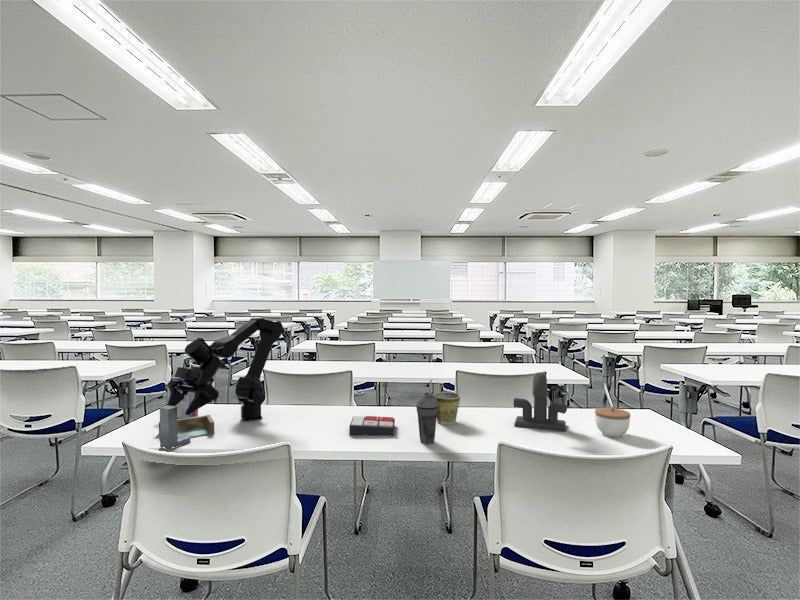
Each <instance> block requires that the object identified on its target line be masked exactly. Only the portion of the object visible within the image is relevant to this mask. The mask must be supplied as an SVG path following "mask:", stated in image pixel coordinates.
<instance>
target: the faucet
mask: <svg viewBox="0 0 800 600" xmlns="http://www.w3.org/2000/svg"><path fill="white" fill-rule="evenodd" d="M547 377H548V376H547V375H546V374H545V373H544V372H536V373H535V374H534V375H533V377H532V396H533V406H532V403H531V402H530V401H529V400H528V399H525V398H519V397H514V398H513V408H521V409H522V416H521V415H518V416H516V417H515V420H514V423H513V424H514V427H516V428H524V429H533V430H542V431H543V430H544V431H552V432H554V431H555V432H563V433H566V430H567V426H566V423H567V422H566V421H565V420H563V419H559V417H558V416H559V415H558V413H560V414H566V413H567V410H568V405H567V404H565V403H561V402H557V401H555V402H554V401H553V402H551V403H550V404H549V405H548V378H547ZM547 407H548V408H547Z"/></svg>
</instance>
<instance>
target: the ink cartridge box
mask: <svg viewBox="0 0 800 600" xmlns="http://www.w3.org/2000/svg"><path fill="white" fill-rule="evenodd" d="M180 380H181V381H182V382H183V383H184V384H185V385H187V383H185V382H184V381H183V380H184V379H182V378H180ZM170 394H171V393H170V390H169V388H168V387H167V396H166V397H167V401H166V403H167V404H168V401H169V398H170ZM194 398H195V393H194V392H188V394H186V395H185V398H184V399H183V400H182V401H180V402H179V403H178V404H177V405H176V406H175V407H177V419H184V418H191V417H198V416H199V409H197V410H196V411H194V412H192V413H191V414H189V415H186V414H185V413H186V411H187V409H188V407H189V406H190V404H191V402H192V401H193V399H194Z"/></svg>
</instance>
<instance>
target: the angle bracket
mask: <svg viewBox="0 0 800 600" xmlns="http://www.w3.org/2000/svg"><path fill="white" fill-rule="evenodd" d="M177 419H178V418H177V407H175V406H170V405H168V406H167V405H165V406H160V407H159V422H160V437H159V443H160V447H165V448H167V449H170V450H172V449H171V448H172V447H176V446H178V447H180V446H179V445H181V446H183V445H186V444H190V443H191V438H190V437H186V436H179V437H178V430H177ZM176 448H177V447H176ZM167 449H166V450H167Z"/></svg>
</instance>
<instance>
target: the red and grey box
mask: <svg viewBox="0 0 800 600" xmlns="http://www.w3.org/2000/svg"><path fill="white" fill-rule="evenodd" d="M395 422H396V419H395V418H394V417H390V416H373V415H366V416H364V415H354V416H352V419H351V421H350V424H349V429H348V430H349V431H348V433H349V434H348V436H349V437H351V436H353V437H354V436H355V437H357V436H358V437H359V436H360V437H362V436H373V437H374V436H375V437H376V436H377V437H382V436H383V437H386V436H387V437H389V436H391V437H393V436H394V435H395Z"/></svg>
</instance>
